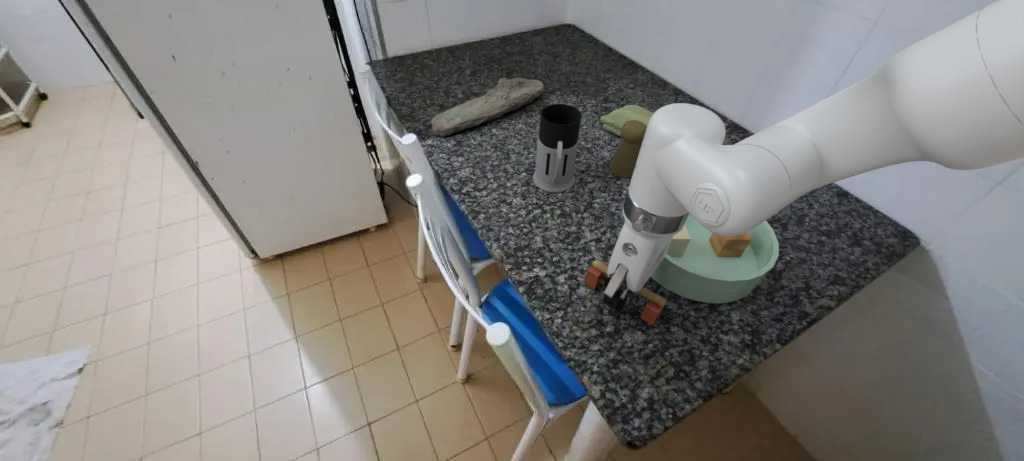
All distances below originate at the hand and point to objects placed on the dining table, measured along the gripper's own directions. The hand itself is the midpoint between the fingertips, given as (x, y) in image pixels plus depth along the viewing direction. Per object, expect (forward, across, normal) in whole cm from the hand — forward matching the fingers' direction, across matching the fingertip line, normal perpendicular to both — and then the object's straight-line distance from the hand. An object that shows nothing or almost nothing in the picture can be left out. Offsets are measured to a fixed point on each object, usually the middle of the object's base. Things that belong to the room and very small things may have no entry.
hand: (623, 291), depth 60 cm
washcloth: (+2, +46, +20) cm, 50 cm away
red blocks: (+2, 0, 0) cm, 2 cm away
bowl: (+2, +17, -5) cm, 18 cm away
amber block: (+1, +20, -9) cm, 22 cm away
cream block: (+1, +14, -1) cm, 14 cm away
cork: (+2, +30, +16) cm, 34 cm away
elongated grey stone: (+2, +29, +54) cm, 61 cm away
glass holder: (+2, +15, +24) cm, 28 cm away
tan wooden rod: (-2, 0, 0) cm, 2 cm away
